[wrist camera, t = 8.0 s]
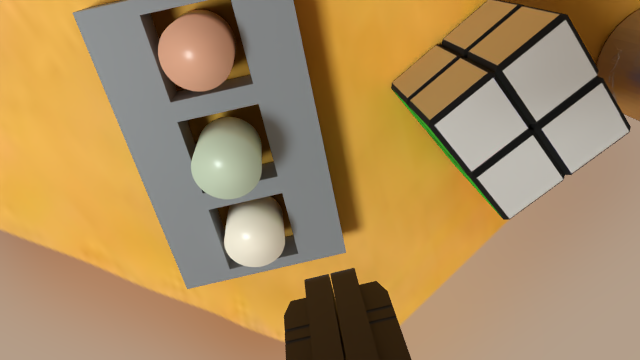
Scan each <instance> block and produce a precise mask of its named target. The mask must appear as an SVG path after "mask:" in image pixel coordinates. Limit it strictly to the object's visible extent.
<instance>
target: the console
mask: <svg viewBox="0 0 640 360" xmlns="http://www.w3.org/2000/svg"><path fill="white" fill-rule="evenodd" d="M202 1H206V0H121V1H116V2H112V3H107V4H103V5H98V6H94V7H89V8H86V9H83V10H80V11H77V12H74V13H73V15H74V17H75V20H76V22H77V25H78V27H79V29H80V32H81V34H82V37H83V39H84V42H85V44H86V46H87V49H88V51H89V54H90V56H91V58H92V61H93V63H94V66H95V68H96V70H97V73H98V75H99V78H100V80H101V82H102V85H103V87H104V90H105V92H106V94H107V97H108V99H109V102H110V104H111V107H112V109H113V111H114V114H115V116H116V119H117V121H118V123H119V126H120V128H121V131H122V133H123V135H124V138H125V140H126V143H127V145H128V147H129V150H130V152H131V155H132V157H133V159H134V162H135V164H136V167H137V169H138V172H139V174H140V176H141V179H142V181H143V184H144V186H145V188H146V191H147V193H148V196H149V198H150V200H151V203H152V205H153V208H154V210H155V212H156V215H157V217H158V220H159V222H160V224H161V227H162V229H163V232H164V234H165V237H166V239H167V241H168V244H169V246H170V249H171V251H172V253H173V256H174V258H175V261H176V263H177V265H178V268H179V270H180V273H181V275H182V277H183V280H184V282H185V285H186V287H187V289H190V288H194V287H198V286H203V285H207V284H211V283H216V282H220V281H224V280H229V279H233V278H237V277H242V276H246V275H251V274H255V273H259V272H264V271H268V270H272V269H277V268H281V267H285V266H290V265H294V264H298V263H303V262H307V261H311V260H316V259H320V258H324V257H329V256H333V255H337V254H342V253H346V250H345V245H344V240H343V235H342V231H341V226H340V221H339V216H338V212H337V207H336V202H335V197H334V192H333V188H332V183H331V178H330V173H329V169H328V164H327V159H326V154H325V149H324V145H323V140H322V135H321V130H320V125H319V121H318V116H317V111H316V106H315V102H314V97H313V92H312V87H311V82H310V78H309V73H308V68H307V63H306V59H305V54H304V49H303V44H302V39H301V35H300V30H299V25H298V20H297V16H296V11H295V6H294V1H293V0H231V2H232V6H233V10H234V13H235V17H236V21H237V25H238V29H239V32H240V36H241V40H242V44H243V47H244V51H245V55H246V59H247V62H248V66H249V70H250V74H251V75H247V76H243V77H239V78H234V79H230V80H225V81H224V82H223V83H222V84H220V85H219V86H217V87H216V88H214V89H211V90H208V91H191V90H187V89H185V90H181V91H177V89H176V86H175V83H174V82H173V81H171V80H170V78H169V77H168V76H167V75H166V74H165V72H164V71H163V69H162V67H161V64H160V61H159V57H158V45H159V37H158V34H157V31H156V28H155V25H154V22H153V19H152V16H151V14H150V13H152V12H157V11H161V10H166V9H170V8H175V7H179V6H184V5H188V4H193V3H197V2H202ZM256 104H259V107H260V111H261V115H262V119H263V122H264V126H265V130H266V134H267V138H268V141H269V145H270V149H271V153H272V156H273V160H274V162H271V163H267V164H262V173H261V177H260V180H259V182H258V184H257V185H256V186H255V188H254V189H253V190H252V191H251V192H249V193H248V194H246V195H244V196H242V197H239V198H235V199H220V198H216V197H213V196H211V195H209V194H207V193H205V192H204V191H203V190H202V189H201V188H200V187H199V186H198V185H197V184H196V182H195V180H194V178H193V176H192V172H191V161H192V157H193V154H194V151H195V148H196V144H195V142H194V139H193V136H192V133H191V130H190V127H189V124H188V121H187V120H189V119H194V118H198V117H203V116H207V115H212V114H216V113H221V112H225V111H229V110H234V109H238V108H243V107H247V106H252V105H256ZM280 193H282V194H283V198H284V201H285V205H286V209H287V213H288V216H289V220H290V224H291V228H292V231H293V235H292V236H288V237H285V246H284V249H283V252H282V253H281V255H280V256H279V257H278V258H277V259H276V260H275V261H273V262H272V263H270V264H268V265H265V266H261V267H247V266H243V265H241V264H239V263H237V262H235V261H234V260H233V259H231V258H230V256H229V255H228V254H227V252H226V250H225V246H224V238H225V229H224V226H223V223H222V220H221V217H220V214H219V211H218V208H219V207H223V206H228V205H232V204H236V203H241V202H245V201H250V200H254V199H258V198H263V197H267V196H272V195H276V194H280Z"/></svg>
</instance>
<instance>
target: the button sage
mask: <svg viewBox="0 0 640 360" xmlns="http://www.w3.org/2000/svg"><path fill="white" fill-rule="evenodd" d="M191 172H192V176H193V178H194V180H195V182H196V184H197V185H198V186H199V187H200V188H201V189H202V190H203V191H204V192H205V193H207V194H209V195H211V196H213V197H216V198H220V199H235V198H239V197H242V196H244V195H246V194H248V193H249V192H251V191H252V190H253V189H254V188H255V186H256V185H257V184H258V182H259V180H260V177H261V173H262V143H261V139H260V136H259V134H258V133H257V131H256V130H255V128H254V127H253V126H252V125H250V124H249V123H248V122H246V121H244V120H242V119H239V118H235V117H223V118H219V119H216V120H214V121H212V122H210V123H209V124H208V125H206V127H205V128H204V129H203V130H202V132H201V134H200V136H199V139H198V142H197V145H196V148H195V151H194V154H193V157H192V161H191Z"/></svg>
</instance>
